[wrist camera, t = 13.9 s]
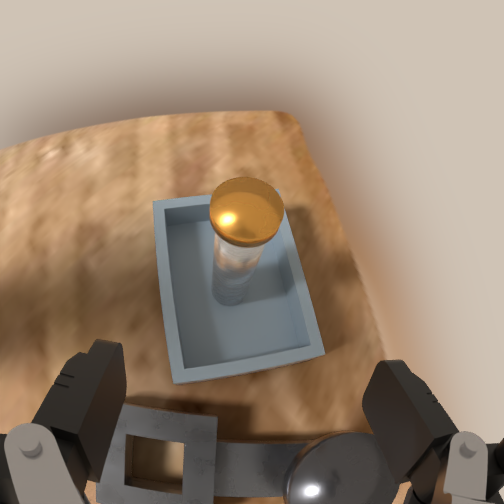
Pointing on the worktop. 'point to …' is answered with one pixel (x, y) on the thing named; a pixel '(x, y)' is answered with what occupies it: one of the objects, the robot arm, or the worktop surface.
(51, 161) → the worktop surface
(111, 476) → the tensioner
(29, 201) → the worktop surface
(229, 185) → the pin
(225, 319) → the tray
